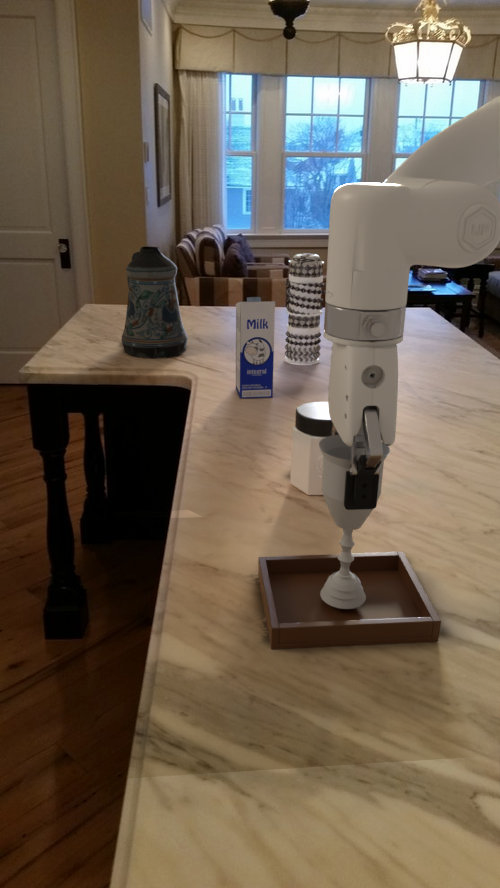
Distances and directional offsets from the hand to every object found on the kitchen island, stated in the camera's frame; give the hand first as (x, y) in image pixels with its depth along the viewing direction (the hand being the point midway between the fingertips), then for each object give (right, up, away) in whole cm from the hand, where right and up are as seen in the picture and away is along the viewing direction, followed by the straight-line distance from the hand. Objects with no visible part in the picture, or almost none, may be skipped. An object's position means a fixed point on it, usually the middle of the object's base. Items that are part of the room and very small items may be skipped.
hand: (351, 489), depth 73 cm
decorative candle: (+2, +25, +98) cm, 101 cm away
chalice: (0, -12, +5) cm, 13 cm away
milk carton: (-10, +15, +74) cm, 76 cm away
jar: (0, -2, +34) cm, 34 cm away
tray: (0, -13, +6) cm, 15 cm away
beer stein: (-36, +29, +105) cm, 115 cm away
